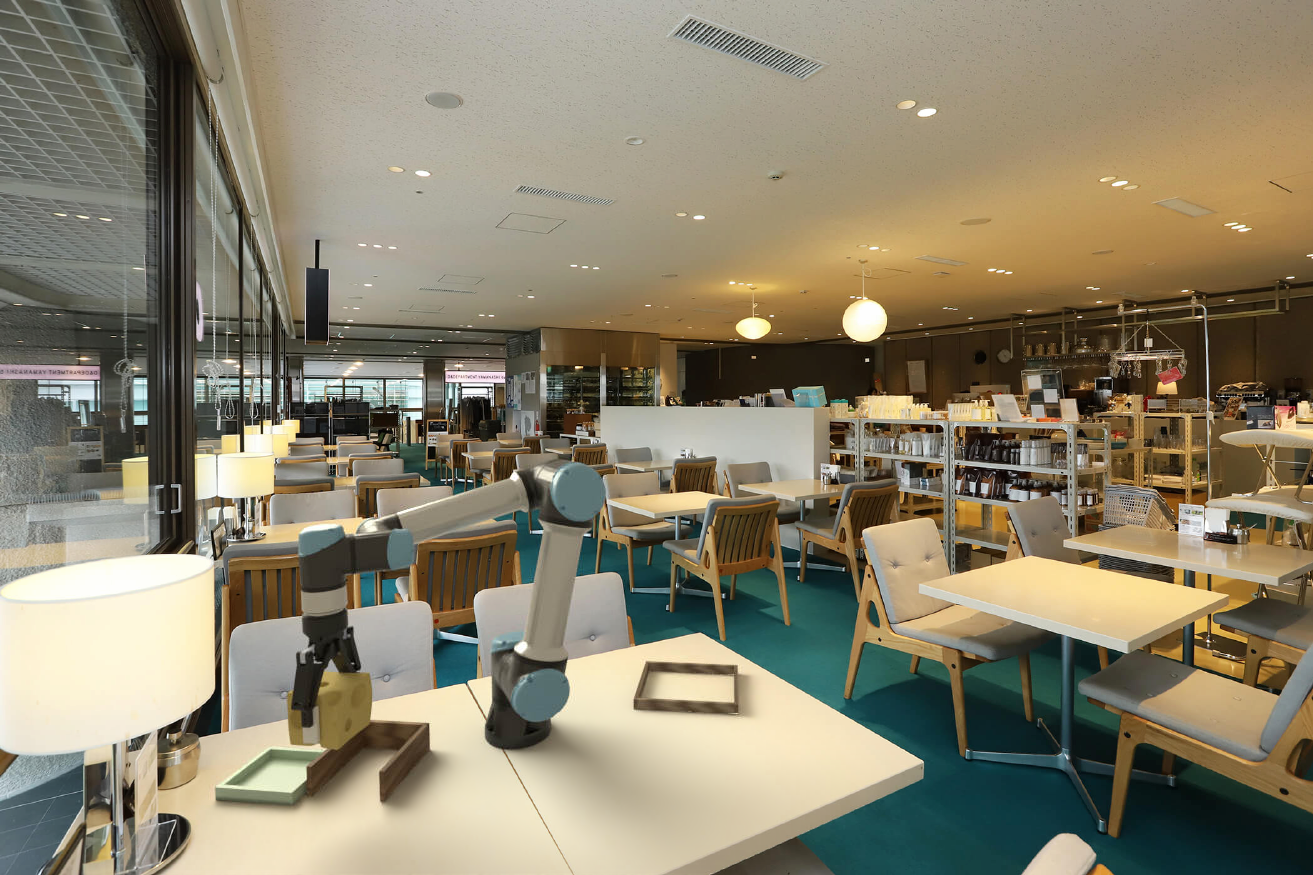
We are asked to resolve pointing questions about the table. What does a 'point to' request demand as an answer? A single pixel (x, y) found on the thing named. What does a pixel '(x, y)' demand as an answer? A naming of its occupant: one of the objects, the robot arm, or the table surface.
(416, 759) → the cubby
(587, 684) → the table surface
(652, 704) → the frame
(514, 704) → the robot arm
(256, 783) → the tray
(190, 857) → the table surface
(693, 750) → the table surface
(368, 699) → the cheese
